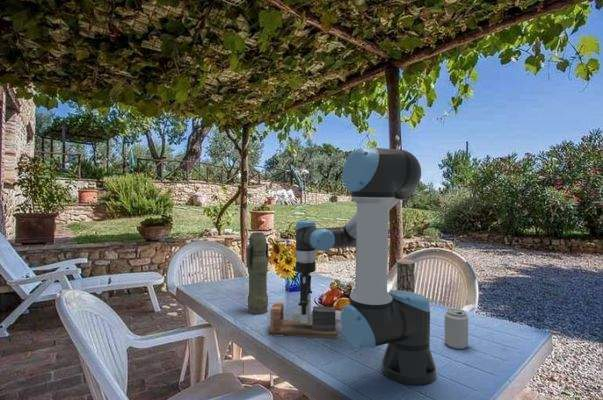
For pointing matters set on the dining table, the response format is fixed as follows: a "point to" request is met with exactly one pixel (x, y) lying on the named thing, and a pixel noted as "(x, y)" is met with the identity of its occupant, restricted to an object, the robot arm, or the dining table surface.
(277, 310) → the tube rig
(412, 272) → the bark textured post
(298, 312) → the pale green block
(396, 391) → the dining table surface
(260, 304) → the thermos
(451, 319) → the can
